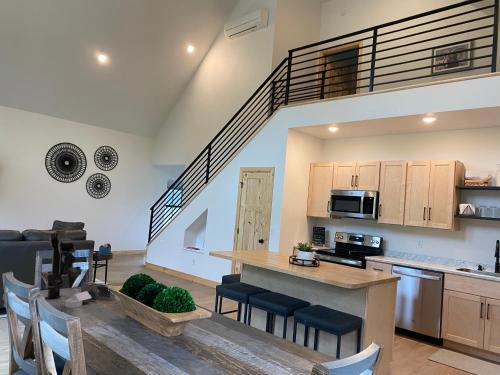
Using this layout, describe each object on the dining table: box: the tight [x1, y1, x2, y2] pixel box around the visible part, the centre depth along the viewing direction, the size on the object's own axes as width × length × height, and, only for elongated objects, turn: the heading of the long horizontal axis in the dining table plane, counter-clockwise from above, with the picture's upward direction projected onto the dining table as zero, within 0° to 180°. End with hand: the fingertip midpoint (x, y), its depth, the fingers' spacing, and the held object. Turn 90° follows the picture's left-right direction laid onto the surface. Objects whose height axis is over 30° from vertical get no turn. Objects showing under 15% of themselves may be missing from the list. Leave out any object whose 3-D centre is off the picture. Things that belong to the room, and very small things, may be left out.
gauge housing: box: [82, 281, 116, 302], centre depth 231 cm, size 22×4×8 cm, turn 69°
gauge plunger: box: [80, 281, 108, 301], centre depth 226 cm, size 18×6×9 cm, turn 69°
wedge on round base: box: [64, 291, 91, 309], centre depth 215 cm, size 9×7×13 cm
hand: (64, 289), depth 206 cm, fingers open, 9 cm apart
